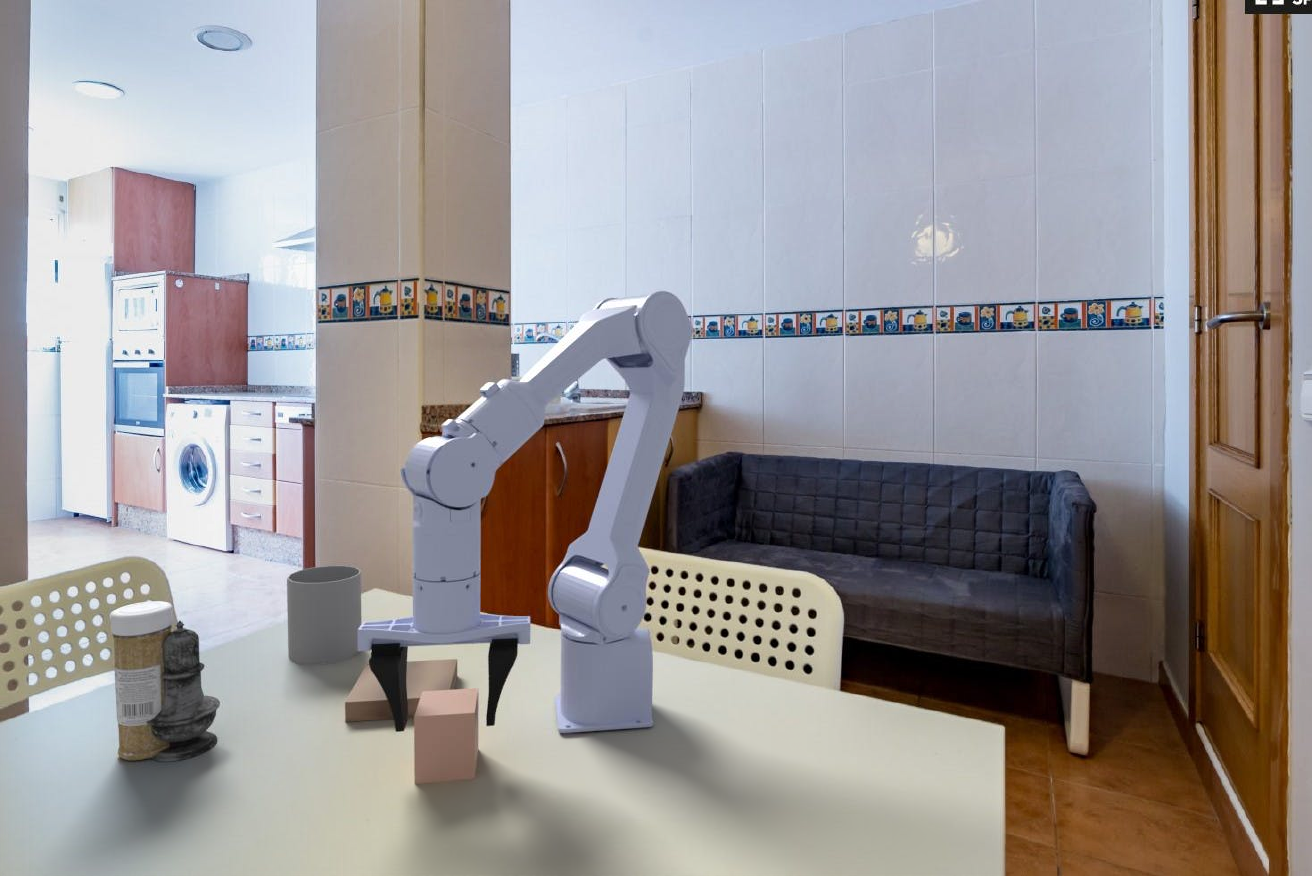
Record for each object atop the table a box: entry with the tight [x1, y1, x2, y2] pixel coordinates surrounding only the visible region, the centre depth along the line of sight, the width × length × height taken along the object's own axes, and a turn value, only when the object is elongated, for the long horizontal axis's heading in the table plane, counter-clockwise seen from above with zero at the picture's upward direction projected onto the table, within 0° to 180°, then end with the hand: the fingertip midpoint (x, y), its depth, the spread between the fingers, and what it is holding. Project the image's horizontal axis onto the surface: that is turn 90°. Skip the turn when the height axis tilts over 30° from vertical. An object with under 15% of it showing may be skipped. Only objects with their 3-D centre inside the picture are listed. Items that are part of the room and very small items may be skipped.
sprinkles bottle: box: [110, 600, 174, 761], centre depth 65 cm, size 5×5×13 cm
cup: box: [286, 565, 363, 666], centre depth 89 cm, size 8×8×10 cm
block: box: [413, 687, 479, 785], centre depth 63 cm, size 5×5×6 cm
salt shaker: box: [147, 620, 221, 763], centre depth 65 cm, size 6×6×12 cm
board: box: [344, 658, 458, 723], centre depth 77 cm, size 10×10×2 cm
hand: (446, 723), depth 63 cm, fingers open, 7 cm apart
